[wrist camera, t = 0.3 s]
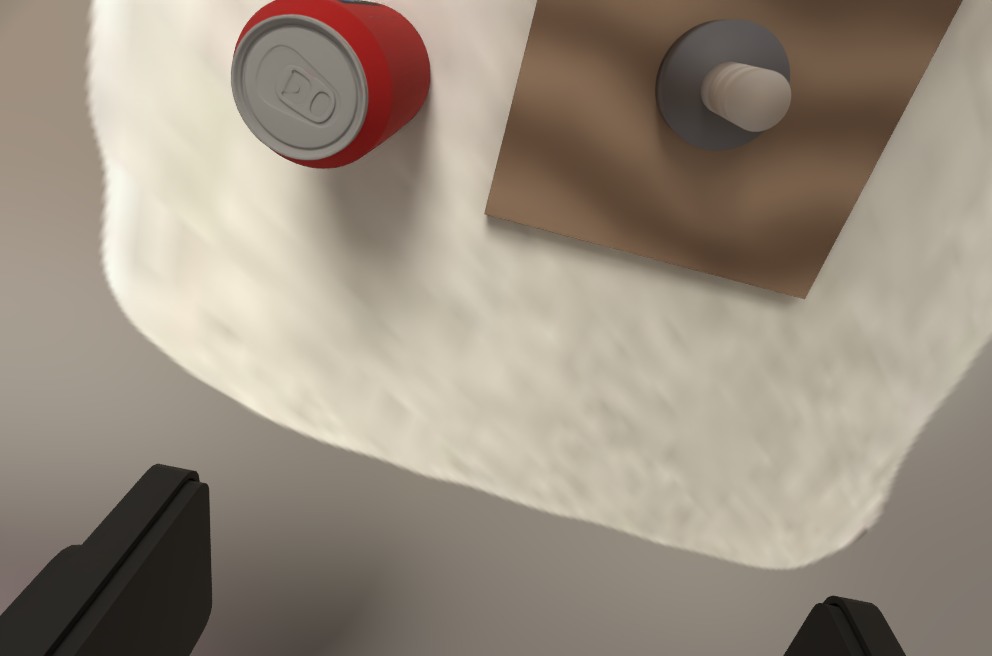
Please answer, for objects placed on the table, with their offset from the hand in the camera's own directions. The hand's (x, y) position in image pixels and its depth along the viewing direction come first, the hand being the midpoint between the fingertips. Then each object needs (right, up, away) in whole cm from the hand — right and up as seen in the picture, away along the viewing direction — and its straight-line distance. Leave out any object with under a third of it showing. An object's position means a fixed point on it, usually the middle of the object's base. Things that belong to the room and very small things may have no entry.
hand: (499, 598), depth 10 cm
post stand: (+11, +18, +24) cm, 32 cm away
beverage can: (-7, +19, +25) cm, 32 cm away
